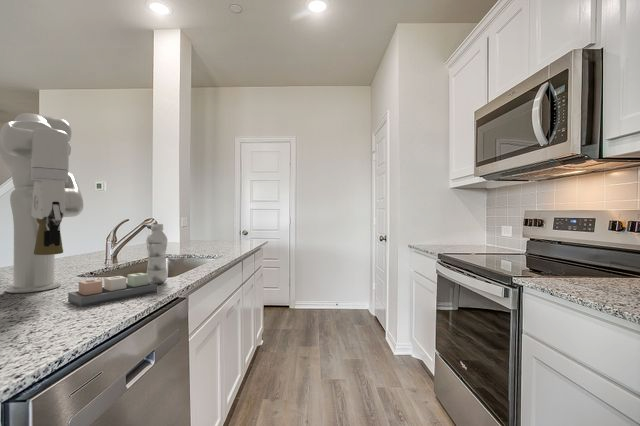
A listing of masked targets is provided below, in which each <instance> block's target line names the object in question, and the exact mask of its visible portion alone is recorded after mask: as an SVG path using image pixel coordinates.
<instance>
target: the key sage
mask: <svg viewBox="0 0 640 426" xmlns="http://www.w3.org/2000/svg"><path fill="white" fill-rule="evenodd" d="M126 283H127V285H129V286H133V287H136V286H141V285H147V284H148V274H146V273H145V272H138V273H137V272H136V273H130V274H129V273H128V274H127V275H126Z"/></svg>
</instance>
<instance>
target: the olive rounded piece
mask: <svg viewBox="0 0 640 426" xmlns="http://www.w3.org/2000/svg"><path fill="white" fill-rule="evenodd" d="M60 216H61V215H60ZM48 219H53V216H48ZM36 220H37V223H38V224H39V228H38V233H37V238H36V244H35V249H34V254H35V255H53V254H55V255H59V254H64V249H63V241H62V234H61V232H60V245H59V246H55V245H54V243H53V244H51V245H49V246H47V247H46V246H44V231H46V226H45V220H46V217H45V218H44V219H38V218H36ZM62 221H63V218H62V219H61V222H60V224H61V223H62ZM50 222H51V221H49V225H50Z"/></svg>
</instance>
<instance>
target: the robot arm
mask: <svg viewBox="0 0 640 426" xmlns="http://www.w3.org/2000/svg"><path fill="white" fill-rule="evenodd" d="M71 139H72V128H71V125H70V123H69V122H68V121H67V120H65V119H63V118H59V117H55V116H50V115H49V116H48V115H42V114H37V113H32V112H31V113H30V112H24V113H20V114H19V115H17V116H16V117H15V118H14V120H12V121H7V122H5V123H4V124H3V126H2V127H1V130H0V158H1V160H2V161H3V162H4V164H5V165H6V166H7V168H8V169H9V170H10V173H11V179H12V184H13V187H14V190H12V191H11V193H10V195H9V196H10V197H9V201H10V202H9V203H10V209H11V213H12V219H13V220H12V221H13V266H12V267H13V271H12V272H13V273H12V275H13V276H12V278H13V280H12V282H13V283H12V284H10V285H8V286H7V287H5V291H6V293H11V294H22V293H24V294H25V293H34V292H41V291H48V290H53V289H56V288H59V287H60V286H61V285H62V284H61V283H62V282H61V281H60V280H55V276H56V275H55V274H56V273H55V272H56V271H55V269H56V268H55V267H56V256H55V255H56V254H53V255H35V254H34V249H35V244H36V238H37V233H38V228H39V224H38V223H37V220H36V218H38V219H44V218H45V217H46V220H45V226H46V231H44V246H46V247H47V246H49V245H51V244H53V243H54V245H55V246H59V245H60V233H61V223H62V221H61V219H62V220H63V219H64V218H73V217H77V216H79V215H81V214H82V211H83V210H84V198H83V195H82V193H81V190H80V187H79V184H78V182H77V179H76V178H75V176H74V175H73V174H72V173H71V172H69V166H70V165H69V161H70V160H69V159H70V156H71V152H72V146H71V145H72V144H71ZM60 215H61V216H60ZM48 216H53V219H48ZM49 221H51V222H50V225H49ZM60 222H61V223H60Z"/></svg>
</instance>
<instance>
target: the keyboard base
mask: <svg viewBox="0 0 640 426" xmlns="http://www.w3.org/2000/svg"><path fill="white" fill-rule="evenodd" d="M67 293H68V294H67V296H68V298H67V302H68V303H69V304H72V305H73V306H76V307H77V308H80V309H85V308H89V307H93V306H99V305H104V304H108V303H109V304H110V303H114V302H118V301H119V302H120V301H124V300H129V299H130V300H131V299H134V298H139V297H144V296H149V295H153V294H154V295H155V294H158V284H153V283H149V282H148V284H147V285H141V286H136V287H133V286H129V285H127V282H126V288H124V289H118V290H113V291H109V290H107V289H104V286H102V292H101V293H95V294H89V295H82V294H80V293H79V290H77V291H71V292H67Z"/></svg>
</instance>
